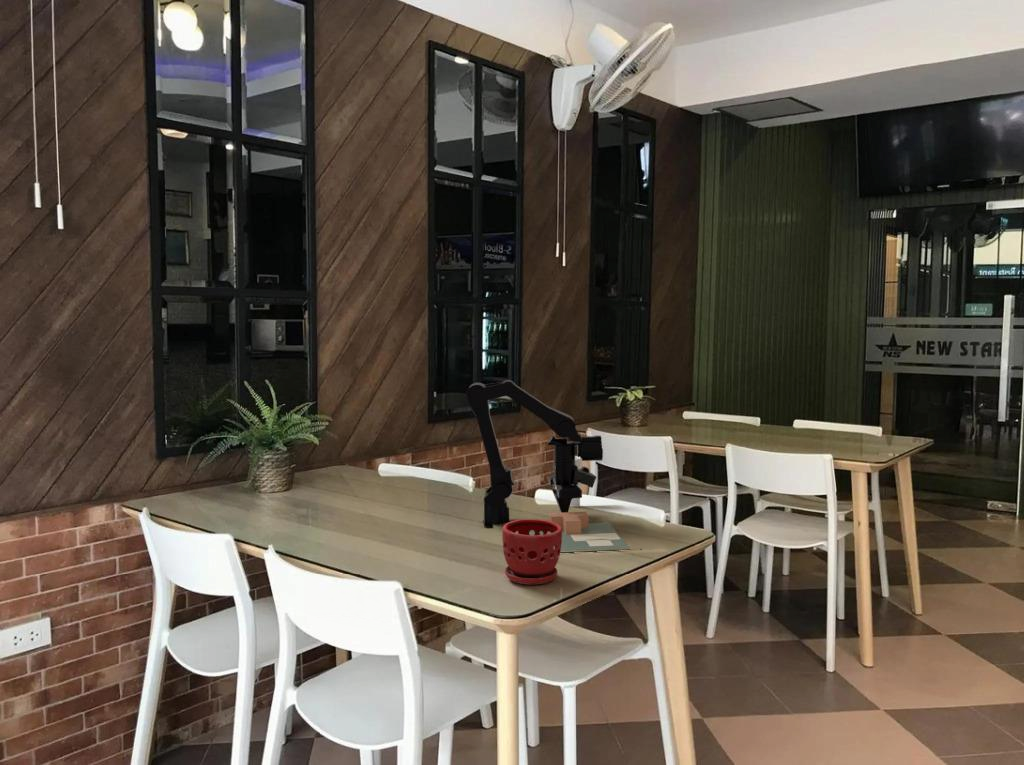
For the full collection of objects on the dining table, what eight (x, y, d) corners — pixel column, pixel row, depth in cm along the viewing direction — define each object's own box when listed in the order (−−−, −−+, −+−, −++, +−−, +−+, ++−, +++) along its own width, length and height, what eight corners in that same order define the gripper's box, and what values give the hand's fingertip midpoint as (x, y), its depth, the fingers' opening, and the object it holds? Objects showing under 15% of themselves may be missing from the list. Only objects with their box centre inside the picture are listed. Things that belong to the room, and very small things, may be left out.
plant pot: (493, 585, 184) (493, 530, 182) (515, 567, 196) (514, 516, 195) (551, 591, 179) (551, 536, 178) (569, 573, 191) (569, 521, 190)
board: (537, 554, 205) (537, 551, 205) (524, 528, 229) (524, 525, 229) (630, 550, 208) (630, 547, 207) (608, 525, 231) (608, 522, 231)
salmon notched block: (554, 534, 219) (554, 521, 219) (549, 525, 228) (549, 513, 228) (592, 533, 221) (592, 520, 220) (585, 524, 229) (585, 511, 229)
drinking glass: (580, 510, 248) (580, 460, 246) (557, 509, 249) (557, 459, 248) (583, 505, 254) (583, 455, 253) (561, 504, 256) (561, 455, 254)
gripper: (601, 466, 223) (600, 524, 225) (586, 453, 242) (586, 507, 243) (559, 467, 222) (559, 526, 223) (548, 455, 240) (548, 509, 242)
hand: (564, 516), depth 233 cm, fingers closed
